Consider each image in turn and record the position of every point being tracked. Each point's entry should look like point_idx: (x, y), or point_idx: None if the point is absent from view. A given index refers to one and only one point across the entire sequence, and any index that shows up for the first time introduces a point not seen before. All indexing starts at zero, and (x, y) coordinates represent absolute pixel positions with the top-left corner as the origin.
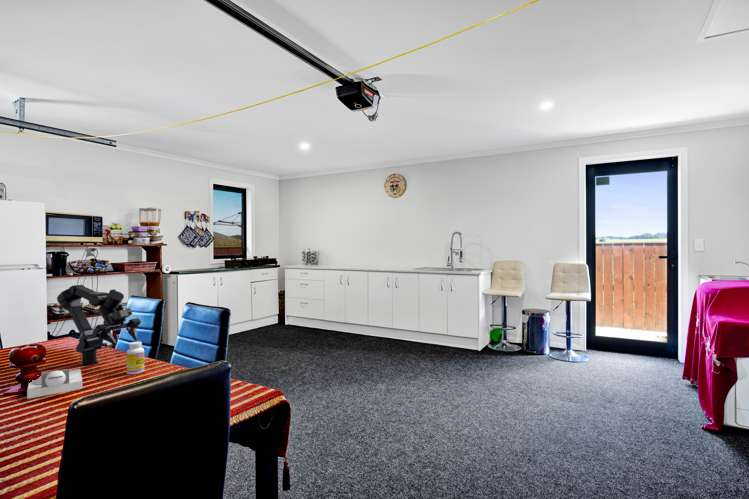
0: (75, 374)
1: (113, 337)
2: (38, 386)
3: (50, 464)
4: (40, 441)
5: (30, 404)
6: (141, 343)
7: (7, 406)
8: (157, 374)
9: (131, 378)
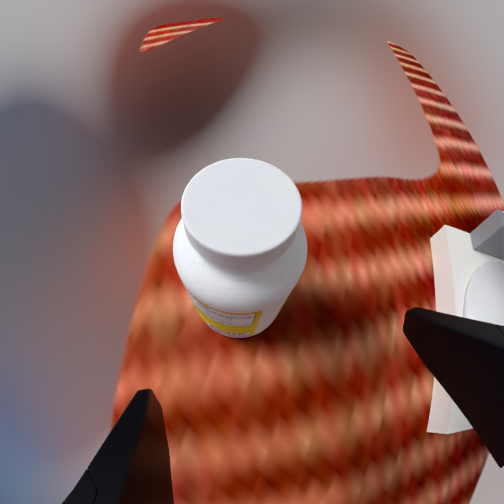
0: (473, 304)
1: (472, 333)
2: None
3: (395, 53)
4: (420, 82)
5: None
6: (195, 181)
7: None
8: None
9: None
